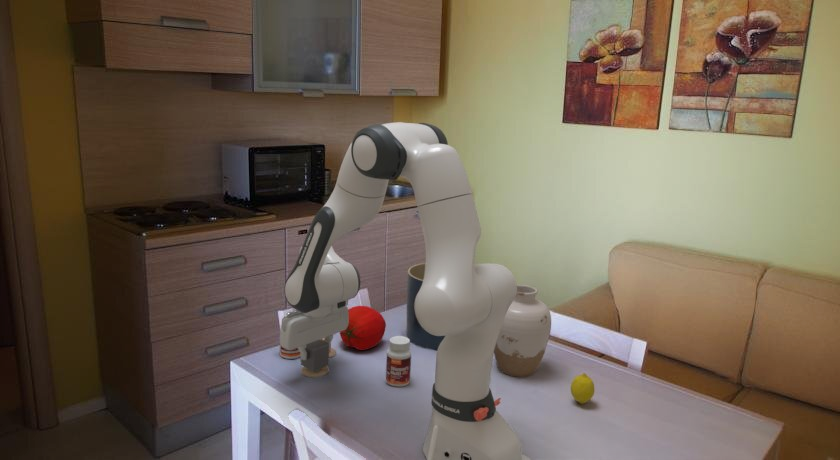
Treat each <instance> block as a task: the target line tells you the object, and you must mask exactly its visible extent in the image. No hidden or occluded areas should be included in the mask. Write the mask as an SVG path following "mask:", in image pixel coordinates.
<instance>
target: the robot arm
mask: <svg viewBox="0 0 840 460" xmlns="http://www.w3.org/2000/svg"><path fill="white" fill-rule="evenodd" d="M447 139H448V138H447V137H446V134H445V133H444V131H443V130H441V128H439V127H438V126H436V125H434V124H430V123H426V122H419V123H412V122H403V121H399V122H398V121H397V122H387V123H383V124H382V123H381V124H378V123H374V124H372V125H368V126H365V127H363V128H361V129H360V130H358V131H357V132H356V134H355V135H354V137H353V138H352V142H350V145H349V146H348V149H346V153H345V155H344V157H343V160H342V162H341V165H340V168H339V172H338V176H337V179H336V183H335V186H334V187H333V191H332V192H331V194H330V196H329V198H328V199H327V201H326V202H325V203H324V205H323V206H322V207H321V208H320V209H319V210H318V211H317V212H316V214H315V216H314V217H313V219H312V221H311V224H310V225H309V228H308V230H307V233H306V236H305V239H304V241H303V244H302V246H301V247H300V249H299V253H298V257H297V259H296V262H295V264H294V266H293V267H292V269H291V271H290V272H289V274H288V276H287V278H286V279H285V283H284V289H283V290H284V297H285V300H286V302H287V303H288V304H289V305H290V306H291V307H292V308H293V309H294V310H293V311H288V312H287V313H285V314H284V315H285V316H284V315H283V316H284V317H283V316H282V318H283V319H282V318H281V324H282V325H281V324H280V326H281V331H280V330H279V346H280V345H281V346H282V347H283V348H285V349H287V350H293V349H295V348H298V350H299V351H300V352H301V356H300V360H301V359H302V360H307V359H309V352H307V351H306V350H305V349H304V348H306V344H309V343H312V342H314V341H317V340H321V339H322V338H325V339H324V341H325V342H327V343H329V345H330V343H331V344H332V341H333V339H334V335H335V334H339V333H340V332H341V331H344V330H346V329H347V327H348V324H349V312H348V309H349V308H348V307H347V306H348V305H349V300H350V301H351V300H352V299H354V298H356V296H357V295H358V293H359V292H360V288H361V276H360V272H359V270H358V268H357V267H356V266H355V265H354V264H353V263H351V262H349V261H346V260H344V258H342V257H340V256H339V255H338V254H337V253H336V251H335V250H334V247H333V245H334V243H336V242H337V241H338V240H339V239H340V238H342V237H344V236H345V235H347V234H349V233H351V232H353V231H355V230H357V229H359V228H361V227H364V226H366V225H368V224H369V223H371V222H372V221H373V220H374V219H375V218H376V217H377V215H378V214H379V212H380V210H381V209H382V207H383V204H384V201H385V197H386V194H387V193H386V192H387V189H388V186H389V181H396V180H397V179H398V178H403V179H406V180H407V181H408V182H409V183H410V184H411V187H412V189H413V193H414V199H415V203H416V207H417V212H418V217H419V220H420V225H421V230H422V234H423V239H424V248H425V262H424V263H425V273H424V279H423V283H422V286H421V288H420V290H419V292H418V294H417V296H416V298H415V304H414V308H415V314H416V317H417V320H418V322H419V324H420V325H421V326H422V328H423V329H424V330H425V331H427V332H428V333H430V334H432V335H435V336H445V337H444V339H443V340H442V342H441V343H440V345H439V347H438V350H436V357H435V376H434V383H433V384H432V390H431V399H430V400H431V406H432V411H431V417H430V422H429V423H430V424H429V426H428V430H427V435H426V438H425V440H424V443H423V446H422V451H423V454H424V457H425V458H426V460H532V459H531V458H530V457H528V456H527V455H525V454H524V453H523V452H522V444H521V438H520V436H519V435H518V434H517V433H516V431H515V430H514V429H513V428H512V427H511V425H510V424H509V423H508V422H507V421H506V420H505V419H504V418H503V416H502V415H501V414H500V413H499V412H498V410H497V406H499V405H500V404H501V397H498V398H497V399H494V396H493V393H492V389H491V387H490V385H491V376H492V366H493V365H492V364H493V358H494V349H495V345H496V342H497V339H498V336H499V333H500V330H501V327H502V324H503V321H504V318H505V315H506V313H507V311H508V309H509V307H510V305H511V304H512V302H513V301H514V299H515V297H516V293H517V285H518V284H517V280H516V278H515V276H514V275H513V272H512V271H510V269H509V268H508V267H506V266H505V265H502V264H500V263H493V262H492V263H490V262H489V263H488V262H486V263H477V264H475V257H476V255H475V254H476V248H477V245H478V243H479V241H480V238H481V236H482V227H481V224H480V220H479V216H478V211H477V207H476V203H475V198H474V194H473V190H472V187H471V184H470V180H469V176H468V174H467V171H466V169H465V166H464V164H463V161H462V159H461V156H460V154H459V152H458V151H457V149H455V147H453V146H451V145H449V144H448V140H447Z"/></svg>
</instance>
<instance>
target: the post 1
mask: <svg viewBox="0 0 840 460" xmlns="http://www.w3.org/2000/svg"><path fill="white" fill-rule="evenodd" d="M329 369H330V368H329V367H328V365H327V366H325V367H322V368H320V369H318V370H315V371H313V370H311V369H309V368H306V367H304V366H302V367H301V370H300V373H301V375H303V376H305V377H307V378H314V379H315V378H321V377H324V376H326V375H328V374H329Z"/></svg>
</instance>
